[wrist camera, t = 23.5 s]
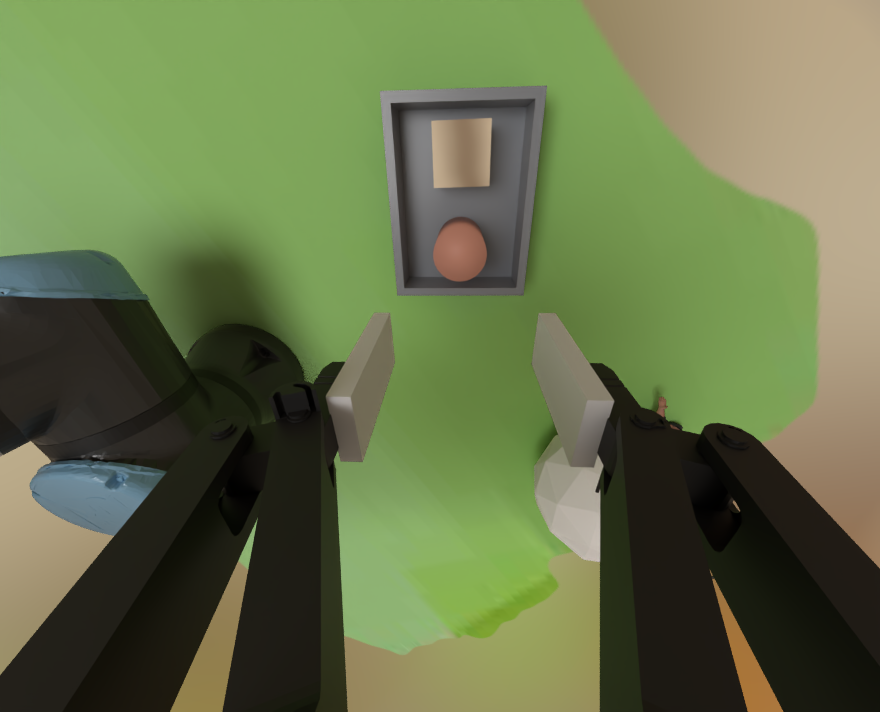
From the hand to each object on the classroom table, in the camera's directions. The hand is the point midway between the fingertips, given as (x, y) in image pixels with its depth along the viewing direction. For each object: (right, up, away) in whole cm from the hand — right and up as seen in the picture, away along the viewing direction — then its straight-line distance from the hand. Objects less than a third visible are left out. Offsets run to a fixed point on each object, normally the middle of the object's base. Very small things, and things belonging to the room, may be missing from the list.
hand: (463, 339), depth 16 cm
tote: (+1, +16, +20) cm, 25 cm away
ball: (+24, -14, +36) cm, 45 cm away
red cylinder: (+1, +12, +21) cm, 24 cm away
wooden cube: (+1, +19, +17) cm, 26 cm away
